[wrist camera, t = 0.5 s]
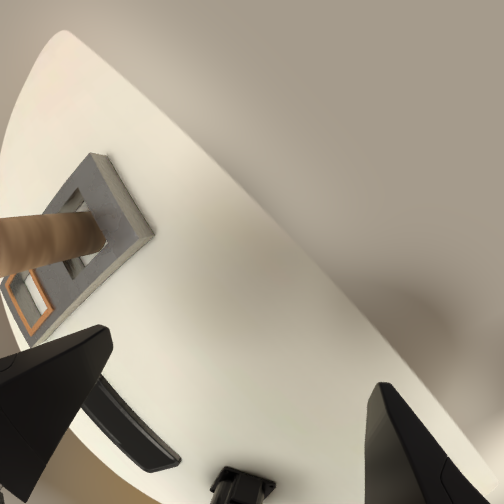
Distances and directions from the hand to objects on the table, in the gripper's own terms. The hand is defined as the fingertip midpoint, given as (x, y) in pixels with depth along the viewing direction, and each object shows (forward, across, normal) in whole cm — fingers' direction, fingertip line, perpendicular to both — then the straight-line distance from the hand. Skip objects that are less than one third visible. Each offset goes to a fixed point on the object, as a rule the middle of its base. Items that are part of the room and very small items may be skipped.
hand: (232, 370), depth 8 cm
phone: (+10, +15, +25) cm, 31 cm away
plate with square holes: (+13, +22, +6) cm, 26 cm away
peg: (+14, +18, +2) cm, 23 cm away
